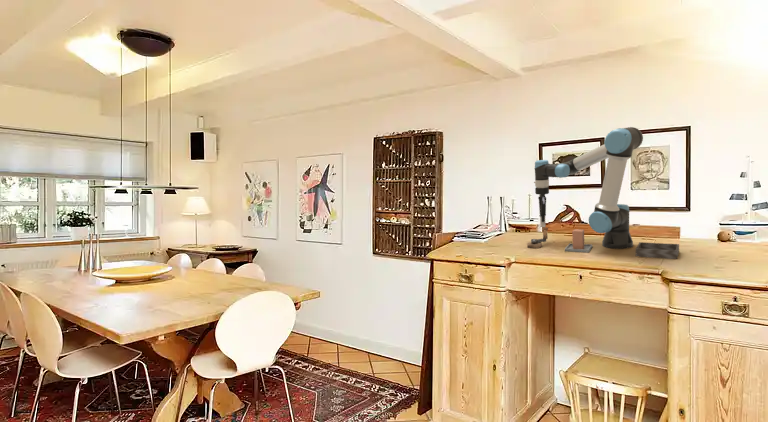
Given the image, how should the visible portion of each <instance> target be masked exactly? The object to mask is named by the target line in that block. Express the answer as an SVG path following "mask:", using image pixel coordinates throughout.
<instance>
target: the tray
mask: <svg viewBox="0 0 768 422" xmlns="http://www.w3.org/2000/svg"><path fill="white" fill-rule="evenodd" d="M592 249H593V244H591V243H588V244H587V243H584V249H573V243H571V242H570V243H568V244H567V246H565V248H564V252H568V253H570V252H572V253H590V251H591V250H592Z"/></svg>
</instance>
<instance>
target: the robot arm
mask: <svg viewBox="0 0 768 422" xmlns="http://www.w3.org/2000/svg"><path fill="white" fill-rule="evenodd" d="M605 136H606V137H605V138H604V144H602V145H600V146H598V147H596V148H594V149H591V150H589V151H587V152H585V153H583V154H581V155H579V156H577V157H575V158H573V159H571V160H569V161H565V162H561V163H560V162H559V163H549V160H548V159H540V160H536V161H534V180H535V181H534V182H533V183H534V184H535V185H534V186H535V188H534V189H535V190H534V192H535V194H536V195H539V196H537V199H538V207H539V208H538V209H539V210H538V211H539V216H538V217H539V222H540V224H539V226H540V228H546V216H547V197H546V195H548V194H550V188H549V186H550V179H549V178H559V179H561V178H567V177H568V176H571V175H575V174H578V173H579V172H580V171H582V170H584V169H587V168H589V167H591V166H594V165H595V164H598V163H600V162H602V161H605V160H607V163H606V169H605V172H604V178H603V181H602V188H601V192H600V197H599V201H598V202H597V203H596V204H595V205H594V210H593V212H592V213H591V214H590V215H589V217H588V224H589V227H591V229H592V230H593V231H594V232H596V233H598V234H604V236H603V237H602V238H603V239H602V241H601V243H602V244H601V246H602V247H603V248H607V249H613V250H614V249H615V250H623V249H630V248H633V247H634V241H633V238H632V236H631V233H630V212H631V211H630V206H629V205H628V204H624V203H623V204H622V203H619V198H620V194H621V193H620V192H621V189H622V184H623V180H624V176H625V171H626V167H627V162H628V160H629V159H631V158H632V155H633V151H634V150H636V149H638V148H639V147H640V146H641V145H642V144H643V141H644V135H643V132H642V131H641V130H640V129H638V128H637V127H633V126H630V127H622V128H621V127H619V128H615V129H612V130H611V131H609V133H607V135H605Z"/></svg>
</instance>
